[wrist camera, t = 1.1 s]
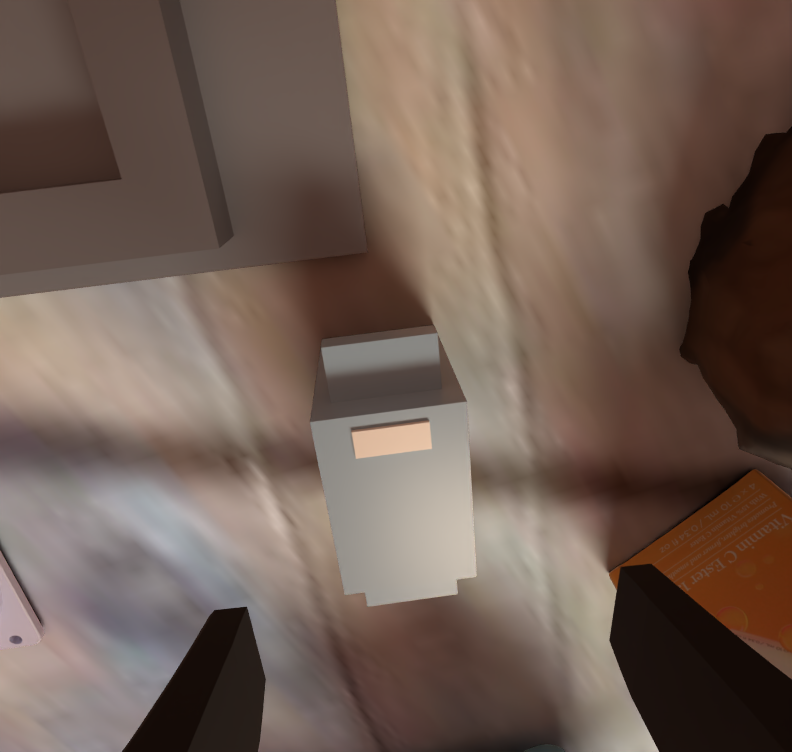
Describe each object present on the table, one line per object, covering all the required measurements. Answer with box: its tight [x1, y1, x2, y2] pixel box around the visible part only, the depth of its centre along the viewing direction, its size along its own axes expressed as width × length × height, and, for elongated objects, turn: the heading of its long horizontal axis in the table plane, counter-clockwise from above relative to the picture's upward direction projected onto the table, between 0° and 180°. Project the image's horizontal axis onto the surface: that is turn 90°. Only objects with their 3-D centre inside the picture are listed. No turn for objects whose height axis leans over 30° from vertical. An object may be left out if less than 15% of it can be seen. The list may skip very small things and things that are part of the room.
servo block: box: [310, 325, 477, 607], centre depth 17 cm, size 4×9×6 cm, turn 6°
